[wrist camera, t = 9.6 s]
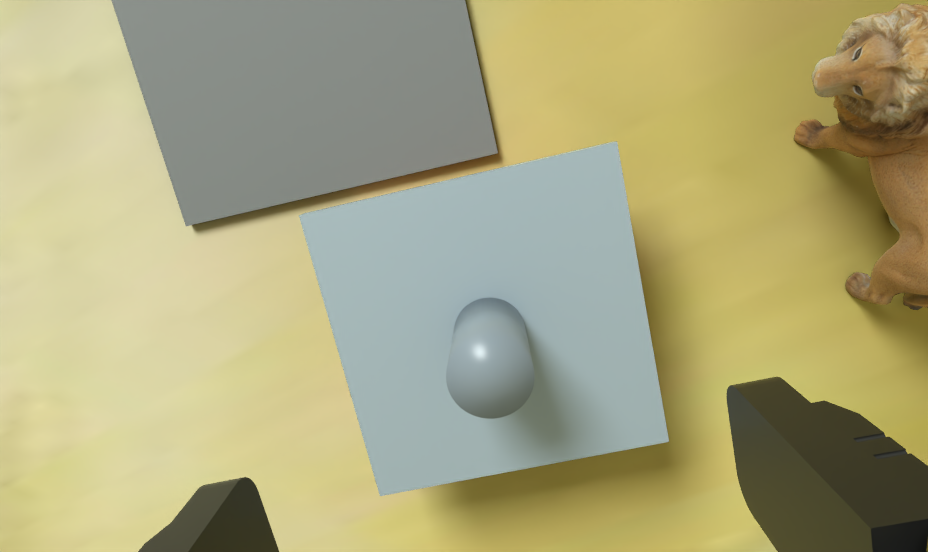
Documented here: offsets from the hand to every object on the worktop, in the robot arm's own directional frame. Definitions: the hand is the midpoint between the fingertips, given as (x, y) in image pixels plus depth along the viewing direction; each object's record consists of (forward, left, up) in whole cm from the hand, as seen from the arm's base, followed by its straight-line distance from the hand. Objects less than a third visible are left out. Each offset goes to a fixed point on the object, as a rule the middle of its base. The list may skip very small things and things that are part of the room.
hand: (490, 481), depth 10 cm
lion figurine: (0, +17, -21) cm, 27 cm away
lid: (+2, 0, -16) cm, 16 cm away
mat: (-13, -7, -21) cm, 25 cm away
